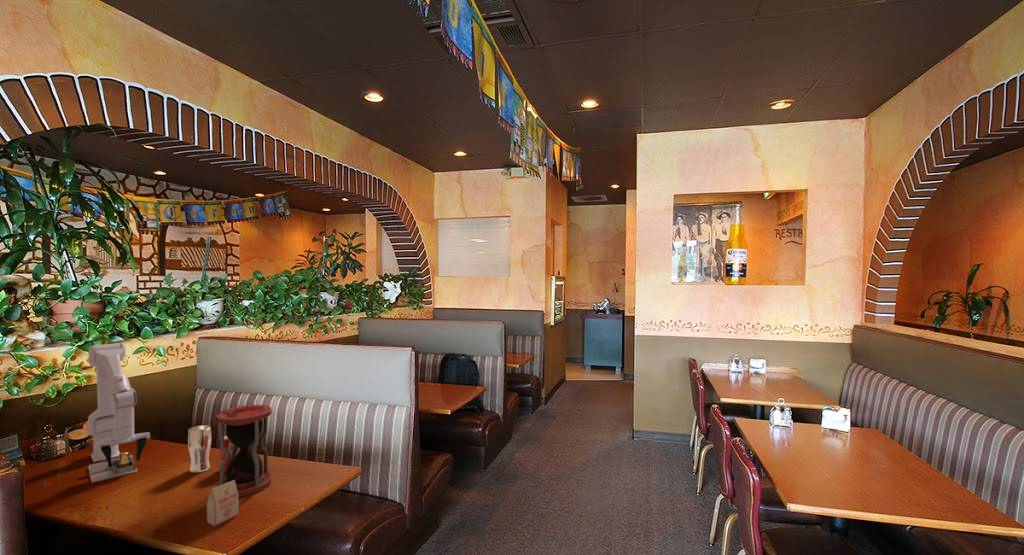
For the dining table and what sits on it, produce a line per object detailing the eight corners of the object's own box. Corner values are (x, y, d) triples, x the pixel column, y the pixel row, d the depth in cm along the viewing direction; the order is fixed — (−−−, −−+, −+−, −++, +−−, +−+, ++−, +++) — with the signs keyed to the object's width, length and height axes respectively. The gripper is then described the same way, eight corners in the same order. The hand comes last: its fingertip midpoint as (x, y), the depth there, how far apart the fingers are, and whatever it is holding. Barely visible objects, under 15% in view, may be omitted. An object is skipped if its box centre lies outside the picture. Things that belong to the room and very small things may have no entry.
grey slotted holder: (88, 468, 167) (88, 458, 167) (130, 458, 176) (130, 449, 176) (90, 475, 161) (90, 465, 160) (134, 465, 169) (134, 455, 169)
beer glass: (202, 473, 163) (202, 431, 163) (183, 473, 163) (183, 431, 163) (215, 465, 170) (215, 424, 169) (197, 465, 170) (196, 424, 170)
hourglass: (255, 471, 165) (254, 401, 164) (282, 482, 156) (281, 408, 156) (206, 489, 151) (205, 413, 150) (233, 502, 142) (232, 422, 142)
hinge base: (89, 474, 162) (89, 465, 162) (133, 464, 170) (133, 455, 170) (91, 483, 155) (91, 472, 155) (137, 471, 164) (137, 462, 164)
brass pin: (118, 470, 164) (118, 453, 164) (128, 467, 166) (128, 451, 166) (120, 472, 162) (119, 455, 162) (130, 469, 164) (129, 453, 164)
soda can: (247, 465, 170) (247, 433, 170) (234, 473, 163) (233, 439, 163) (229, 464, 170) (229, 432, 170) (215, 472, 163) (215, 439, 163)
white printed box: (207, 522, 131) (206, 488, 131) (231, 511, 137) (230, 478, 137) (214, 526, 129) (214, 490, 129) (238, 514, 135) (238, 481, 135)
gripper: (97, 433, 156) (98, 473, 156) (151, 423, 166) (151, 460, 166) (95, 428, 160) (96, 467, 161) (147, 418, 171) (148, 455, 171)
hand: (124, 463), depth 164 cm, fingers open, 7 cm apart
